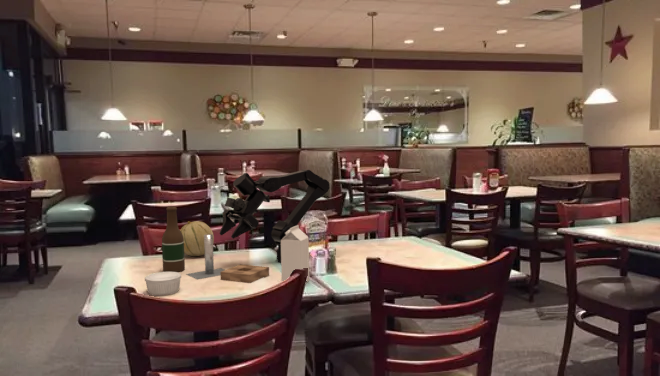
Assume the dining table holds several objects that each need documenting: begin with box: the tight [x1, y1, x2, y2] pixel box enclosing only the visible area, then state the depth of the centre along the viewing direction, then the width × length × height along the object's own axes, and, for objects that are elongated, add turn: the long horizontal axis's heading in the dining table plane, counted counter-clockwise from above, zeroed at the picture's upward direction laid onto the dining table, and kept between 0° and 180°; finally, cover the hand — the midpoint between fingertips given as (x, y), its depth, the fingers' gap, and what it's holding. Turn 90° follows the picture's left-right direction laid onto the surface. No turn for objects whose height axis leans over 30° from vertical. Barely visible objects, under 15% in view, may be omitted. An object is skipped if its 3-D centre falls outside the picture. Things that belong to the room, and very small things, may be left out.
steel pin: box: [204, 234, 215, 275], centre depth 193 cm, size 3×3×14 cm
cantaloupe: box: [179, 220, 215, 257], centre depth 225 cm, size 15×15×15 cm
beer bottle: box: [161, 206, 186, 273], centre depth 198 cm, size 8×8×24 cm
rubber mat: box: [185, 267, 226, 280], centre depth 193 cm, size 14×10×1 cm
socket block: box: [220, 264, 270, 284], centre depth 187 cm, size 12×12×3 cm
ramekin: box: [144, 271, 182, 296], centre depth 172 cm, size 11×11×5 cm
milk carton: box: [280, 224, 310, 283], centre depth 179 cm, size 7×7×19 cm
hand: (226, 236), depth 197 cm, fingers open, 9 cm apart
